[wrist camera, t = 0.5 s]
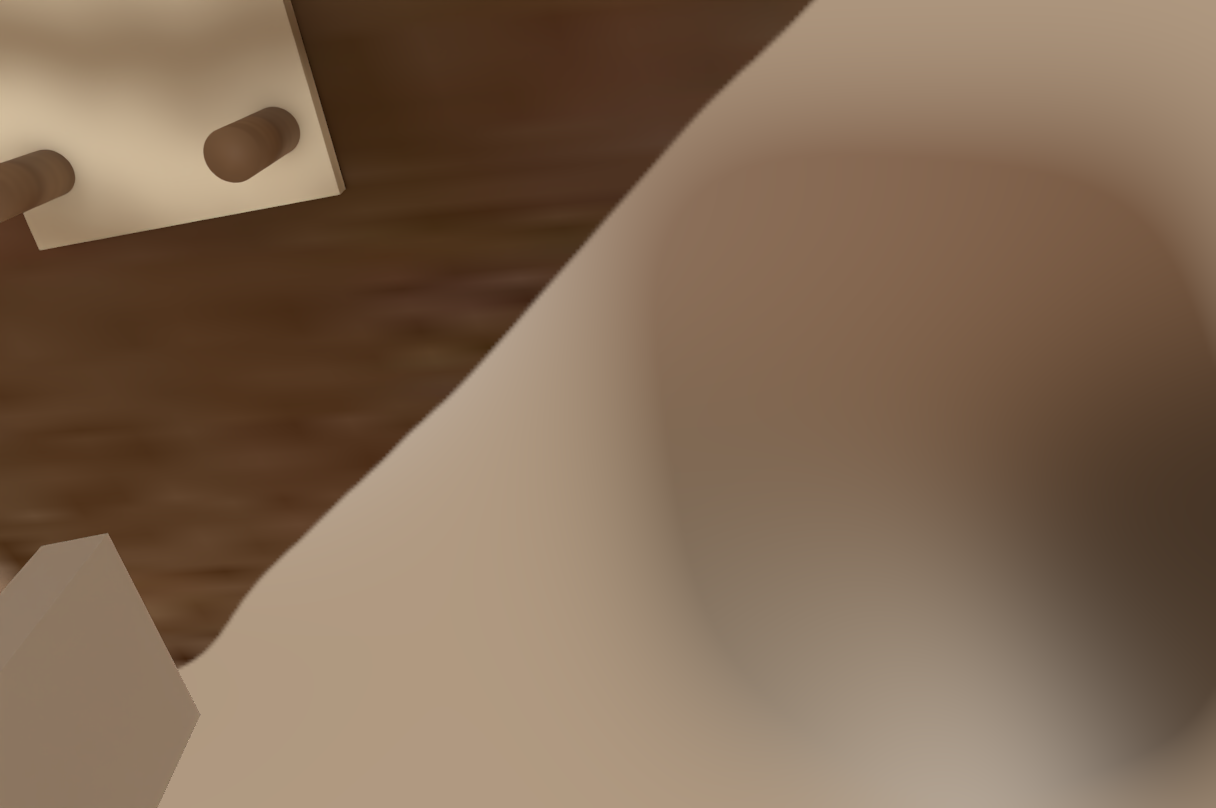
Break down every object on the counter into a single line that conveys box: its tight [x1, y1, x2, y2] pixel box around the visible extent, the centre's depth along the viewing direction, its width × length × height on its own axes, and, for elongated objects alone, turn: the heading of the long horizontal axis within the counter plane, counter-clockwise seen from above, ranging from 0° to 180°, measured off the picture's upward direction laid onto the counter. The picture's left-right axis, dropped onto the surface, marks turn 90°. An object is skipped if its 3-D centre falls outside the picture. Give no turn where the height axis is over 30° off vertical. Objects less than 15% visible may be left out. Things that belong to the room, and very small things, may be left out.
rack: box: [0, 0, 346, 250], centre depth 28 cm, size 13×11×6 cm
